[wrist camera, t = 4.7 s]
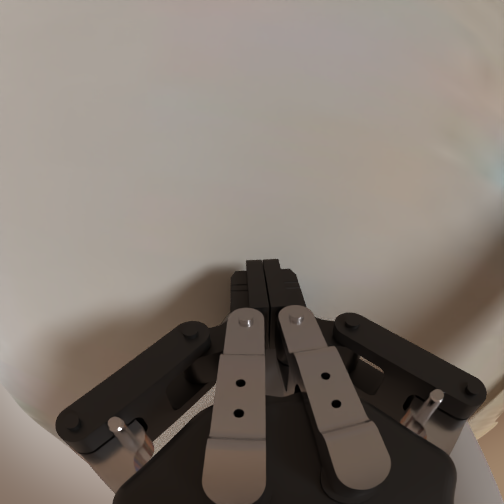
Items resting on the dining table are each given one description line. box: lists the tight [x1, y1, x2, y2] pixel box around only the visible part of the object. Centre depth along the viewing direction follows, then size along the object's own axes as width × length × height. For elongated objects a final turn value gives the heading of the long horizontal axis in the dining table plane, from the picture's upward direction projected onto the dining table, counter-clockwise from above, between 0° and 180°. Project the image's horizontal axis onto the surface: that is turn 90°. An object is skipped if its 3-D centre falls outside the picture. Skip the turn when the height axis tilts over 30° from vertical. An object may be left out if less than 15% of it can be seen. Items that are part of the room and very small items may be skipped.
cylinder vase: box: [450, 421, 504, 504], centre depth 17 cm, size 12×12×25 cm
